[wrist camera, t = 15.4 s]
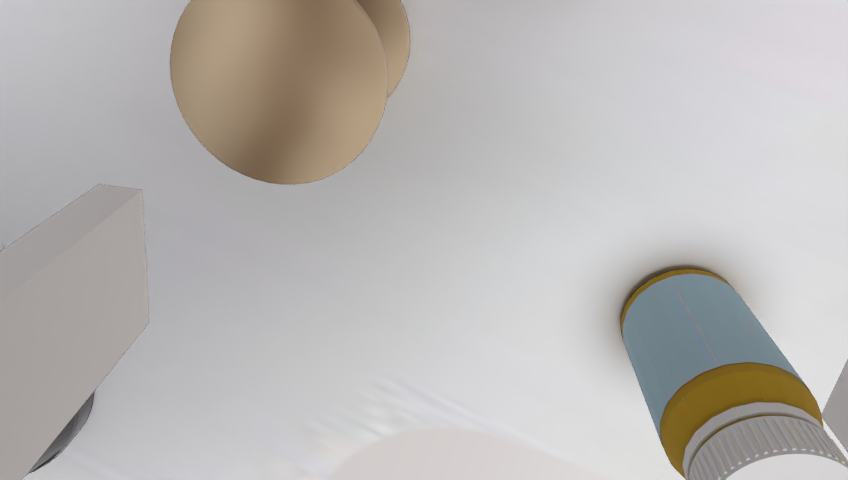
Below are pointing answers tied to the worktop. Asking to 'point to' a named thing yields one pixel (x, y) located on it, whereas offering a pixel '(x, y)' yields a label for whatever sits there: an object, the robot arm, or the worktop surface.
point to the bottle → (722, 385)
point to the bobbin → (287, 81)
